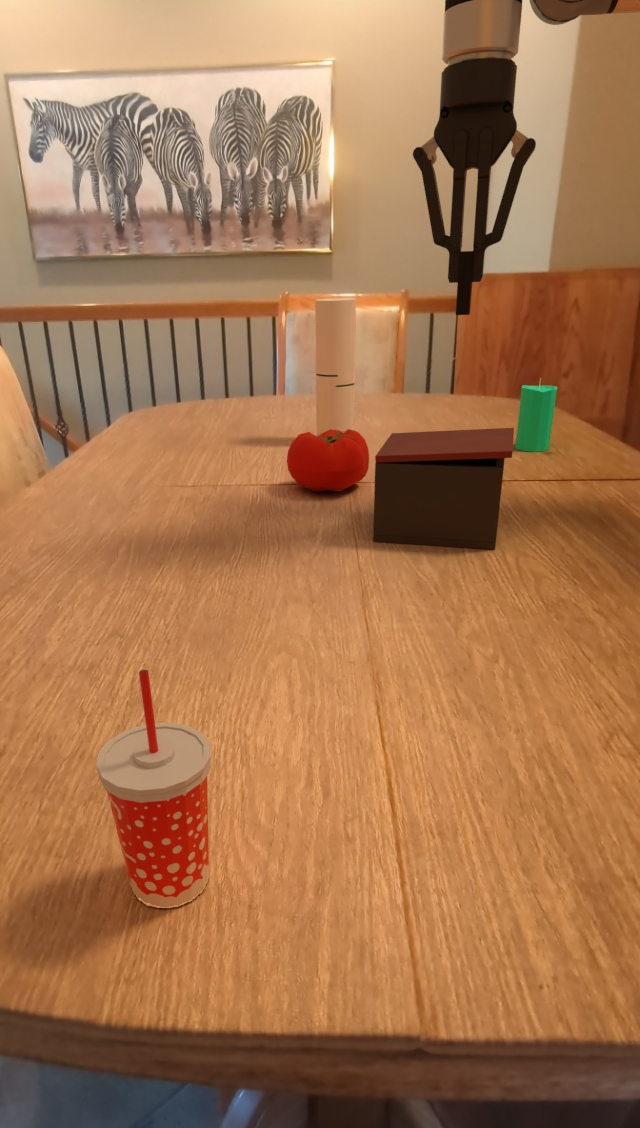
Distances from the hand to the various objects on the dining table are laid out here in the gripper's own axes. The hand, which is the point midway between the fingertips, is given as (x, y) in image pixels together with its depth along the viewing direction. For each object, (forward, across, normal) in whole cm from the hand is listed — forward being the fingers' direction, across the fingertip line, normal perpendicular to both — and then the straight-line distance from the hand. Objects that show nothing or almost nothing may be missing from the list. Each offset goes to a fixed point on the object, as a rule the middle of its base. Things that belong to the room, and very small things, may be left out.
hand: (462, 313), depth 88 cm
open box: (+26, +1, +2) cm, 26 cm away
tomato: (+26, +19, -14) cm, 35 cm away
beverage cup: (+26, +11, +68) cm, 73 cm away
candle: (+26, -11, -46) cm, 54 cm away
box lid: (+15, +1, +2) cm, 15 cm away
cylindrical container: (+26, +25, -45) cm, 58 cm away
